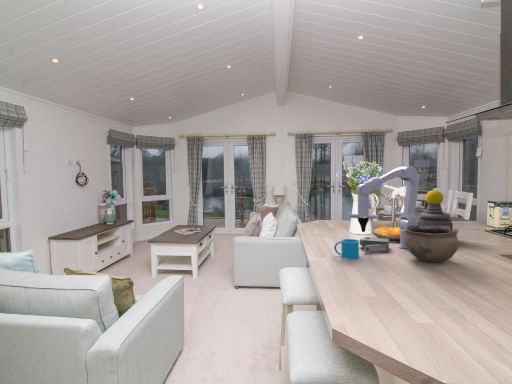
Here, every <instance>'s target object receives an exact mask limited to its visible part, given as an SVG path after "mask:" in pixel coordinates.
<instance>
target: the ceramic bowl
mask: <svg viewBox="0 0 512 384" xmlns="http://www.w3.org/2000/svg"><path fill="white" fill-rule="evenodd" d="M404 230H405V232H406V236H405V245H406V247H407V248H406V249H407V250H408V251H409V252H410V254H412V255H413V257H414V258H416V259H418V260H421V261H424V262H431V263H444V262H446V261H448V260H450V259H451V258H452V257H454V256H455V254H456V253H457V251H458V249H459V239H458V237H457V236H458V232H459V229H457V228H454V229H453V231H451V230H450V227H446V226H438V225H437V226H425V225H421V226H418V225H415V226H409V227H406V228H405V229H404Z"/></svg>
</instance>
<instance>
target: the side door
mask: <svg viewBox="0 0 512 384" xmlns="http://www.w3.org/2000/svg"><path fill="white" fill-rule="evenodd" d="M363 250H364V254H365V253H376V252H377V253H379V252H389V250H388V244H381V245H365V246H364V249H363Z"/></svg>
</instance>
